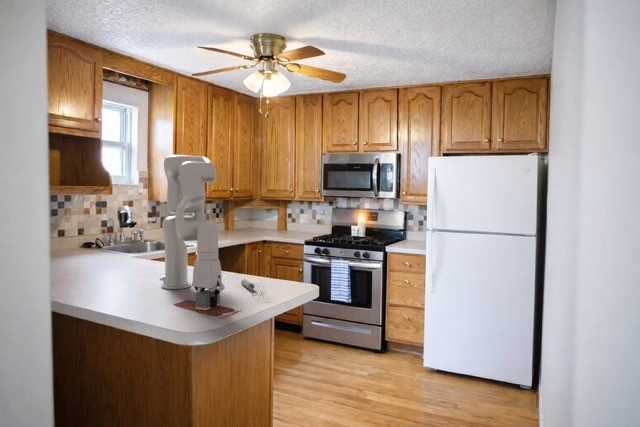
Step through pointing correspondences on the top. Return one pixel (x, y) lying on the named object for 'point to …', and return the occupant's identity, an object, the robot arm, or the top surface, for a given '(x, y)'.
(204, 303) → the sanding block
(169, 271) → the robot arm
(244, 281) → the kitchen whisk
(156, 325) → the top surface
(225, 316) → the carpenter pencil
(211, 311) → the wooden tablet
